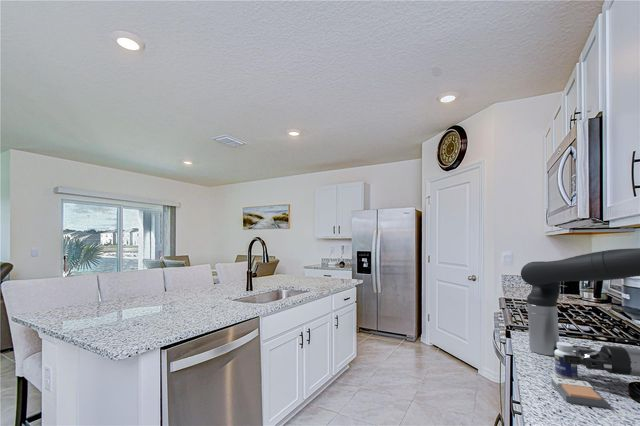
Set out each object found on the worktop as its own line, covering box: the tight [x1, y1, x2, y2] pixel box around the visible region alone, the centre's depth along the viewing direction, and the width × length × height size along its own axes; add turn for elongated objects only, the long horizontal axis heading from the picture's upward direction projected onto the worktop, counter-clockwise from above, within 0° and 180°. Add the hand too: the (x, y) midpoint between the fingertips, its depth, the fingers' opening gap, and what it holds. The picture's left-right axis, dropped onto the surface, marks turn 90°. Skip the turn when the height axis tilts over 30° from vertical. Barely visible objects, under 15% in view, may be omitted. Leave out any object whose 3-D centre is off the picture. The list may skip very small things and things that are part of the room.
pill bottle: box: [554, 341, 579, 381], centre depth 97 cm, size 5×5×10 cm
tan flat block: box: [550, 377, 609, 409], centre depth 85 cm, size 11×8×2 cm
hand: (558, 354), depth 98 cm, fingers open, 8 cm apart
